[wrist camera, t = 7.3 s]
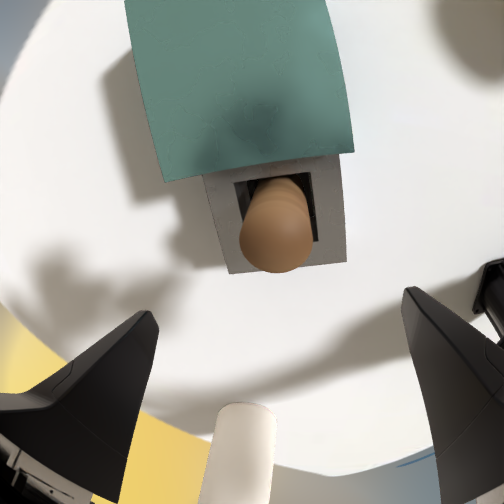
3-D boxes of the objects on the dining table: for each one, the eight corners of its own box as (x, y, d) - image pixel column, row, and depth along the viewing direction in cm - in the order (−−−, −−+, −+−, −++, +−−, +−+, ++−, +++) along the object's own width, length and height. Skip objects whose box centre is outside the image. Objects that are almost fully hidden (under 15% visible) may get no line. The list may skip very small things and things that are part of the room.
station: (344, 233, 21) (359, 278, 16) (220, 248, 23) (201, 293, 18) (303, -10, 12) (308, -48, 7) (165, 21, 14) (124, 0, 9)
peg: (307, 210, 21) (315, 269, 14) (261, 215, 21) (247, 276, 15) (300, 164, 19) (308, 203, 12) (252, 171, 20) (231, 213, 13)
